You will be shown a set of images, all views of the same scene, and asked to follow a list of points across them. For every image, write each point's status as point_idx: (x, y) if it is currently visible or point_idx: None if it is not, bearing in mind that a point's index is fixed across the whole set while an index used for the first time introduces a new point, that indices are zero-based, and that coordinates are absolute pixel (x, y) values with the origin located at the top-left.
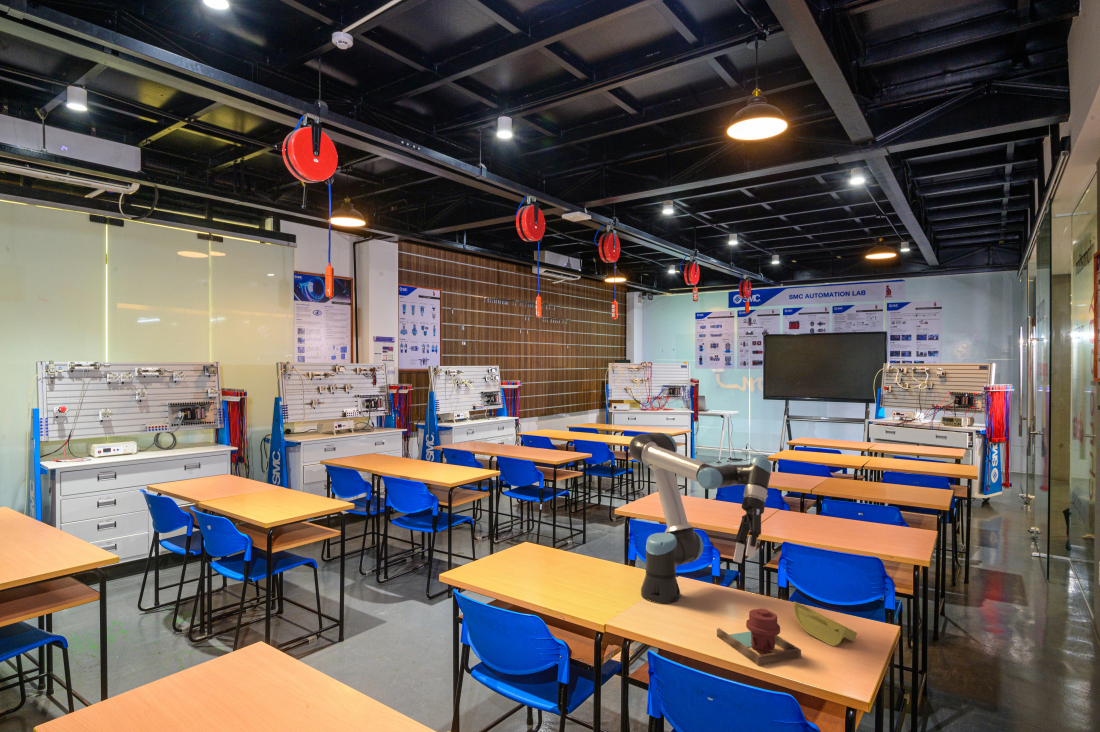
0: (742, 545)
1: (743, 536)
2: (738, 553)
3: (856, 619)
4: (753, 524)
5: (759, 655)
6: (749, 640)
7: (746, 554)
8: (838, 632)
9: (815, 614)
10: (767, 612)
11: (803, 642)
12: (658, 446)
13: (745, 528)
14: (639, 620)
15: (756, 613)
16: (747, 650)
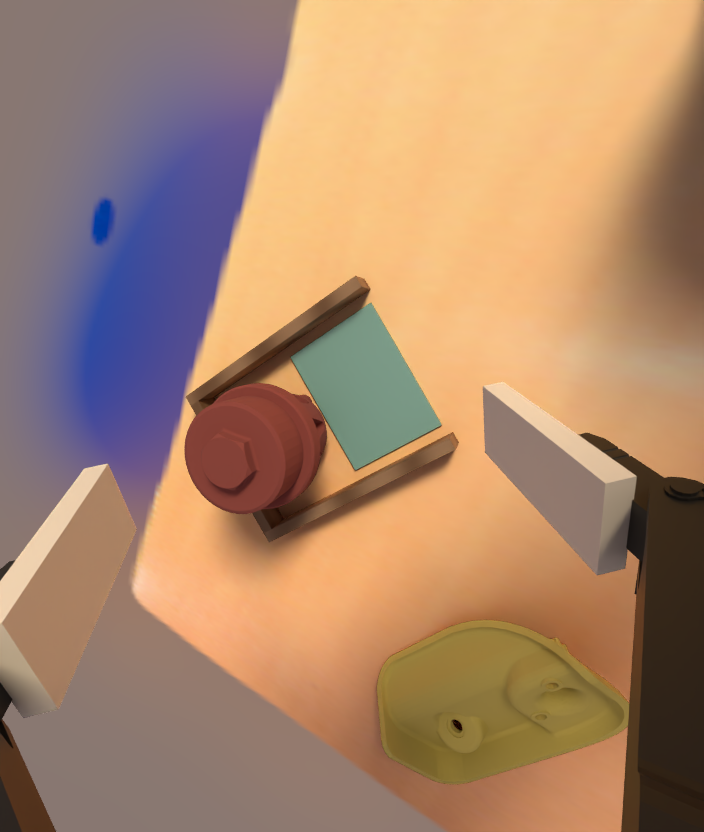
0: (585, 538)
1: (639, 631)
2: (522, 451)
3: None
4: None
5: (196, 402)
6: (354, 397)
7: (83, 474)
8: (413, 719)
9: (594, 724)
10: (212, 477)
11: (393, 580)
12: None
13: (629, 801)
14: None
15: (223, 431)
16: (223, 370)
